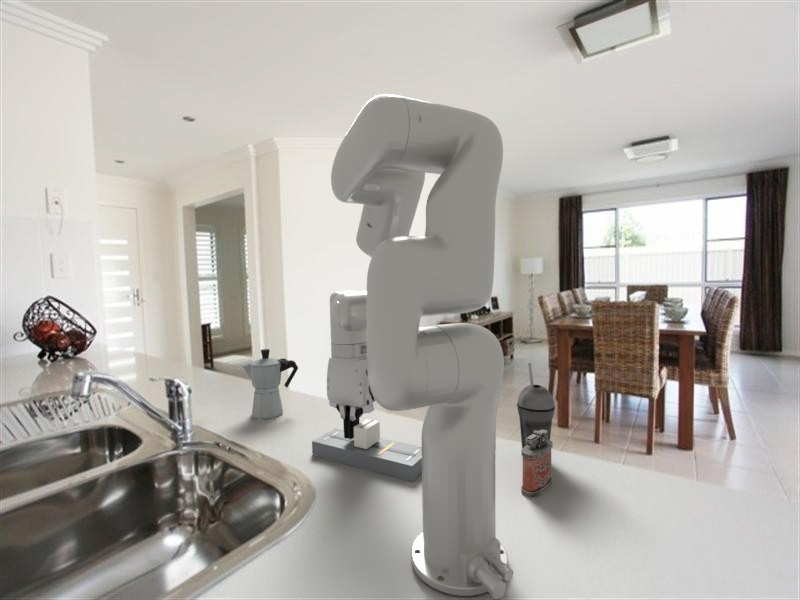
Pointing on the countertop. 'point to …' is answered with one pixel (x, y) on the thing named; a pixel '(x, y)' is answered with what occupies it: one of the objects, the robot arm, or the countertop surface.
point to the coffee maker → (268, 384)
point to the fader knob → (366, 433)
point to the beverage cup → (535, 409)
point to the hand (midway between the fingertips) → (351, 436)
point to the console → (371, 455)
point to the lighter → (536, 464)
